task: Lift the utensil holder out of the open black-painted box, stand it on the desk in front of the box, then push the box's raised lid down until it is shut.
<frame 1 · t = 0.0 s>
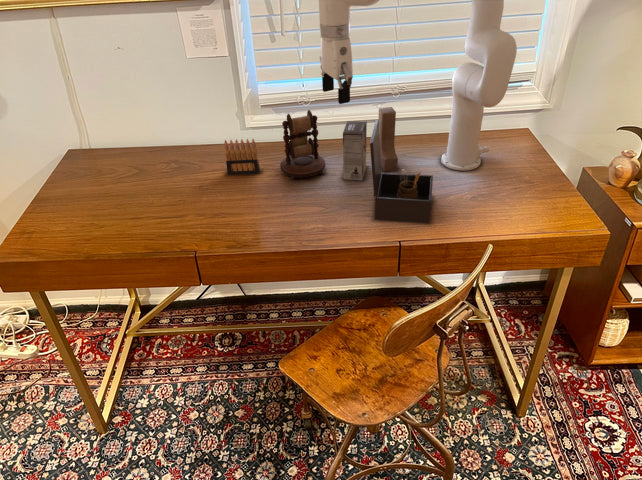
hand: (336, 96, 147), 31 cm above the table, tool pointing down, fingers open, 9 cm apart
wooden block: (387, 165, 181), on the table
coffee box: (354, 173, 178), on the table
black box: (403, 207, 160), on the table
lid: (376, 158, 152), point 16 cm above the table, hinge at 95.0°
utensil holder: (406, 206, 160), point 1 cm above the table, touching black box
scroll: (303, 170, 181), on the table
ammunition clip: (243, 173, 181), on the table
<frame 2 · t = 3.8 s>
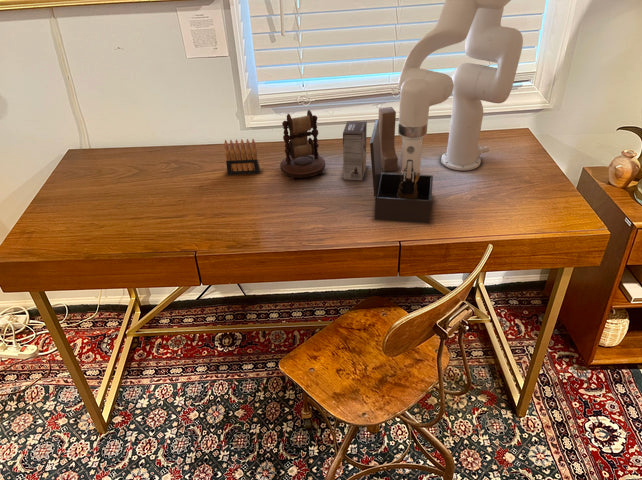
hand: (408, 187, 156), 7 cm above the table, tool pointing down, fingers closed on utensil holder, 5 cm apart
utensil holder: (406, 206, 160), point 1 cm above the table, touching black box, gripper
everything else where it was.
when the fingers open (6 cm above the table, at t = 11.2 s): utensil holder stays where it is, on the table.
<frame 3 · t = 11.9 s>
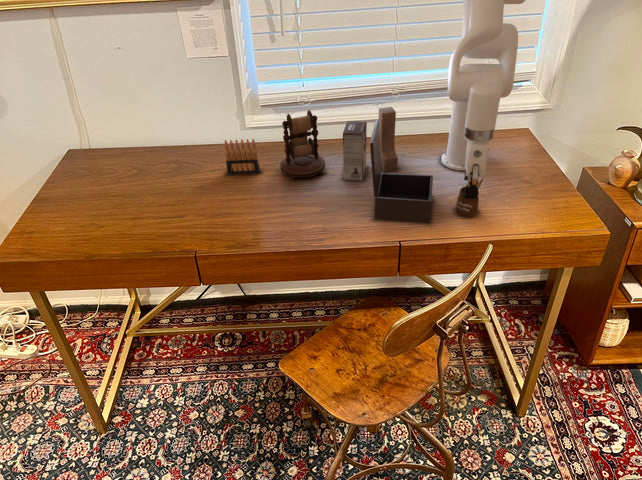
hand: (470, 188, 152), 8 cm above the table, tool pointing down, fingers open, 9 cm apart
utensil holder: (466, 212, 157), on the table
everything else where it was.
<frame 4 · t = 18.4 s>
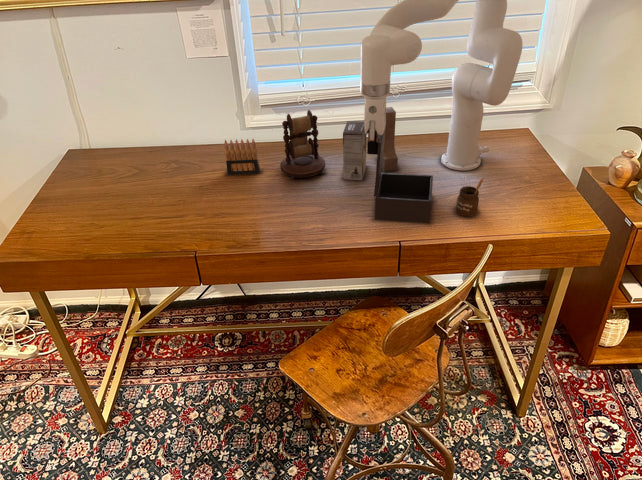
hand: (373, 152, 151), 17 cm above the table, tool pointing down, fingers closed
lid: (380, 158, 152), point 16 cm above the table, hinge at 87.1°, touching gripper
everything else where it was.
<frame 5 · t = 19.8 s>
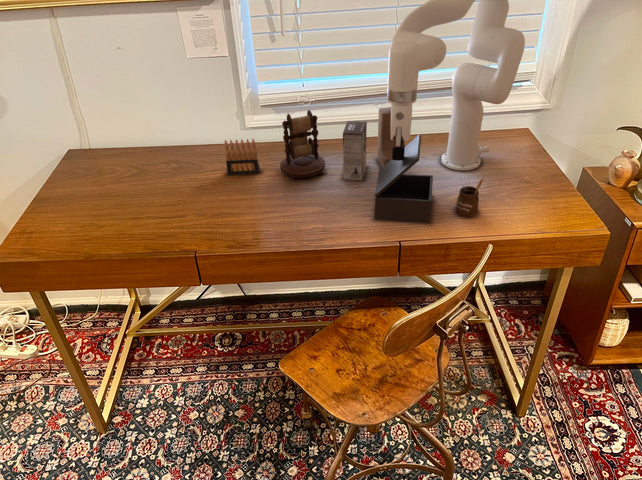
hand: (398, 158, 151), 16 cm above the table, tool pointing down, fingers closed
lid: (397, 165, 152), point 14 cm above the table, hinge at 48.0°, touching gripper
everything else where it was.
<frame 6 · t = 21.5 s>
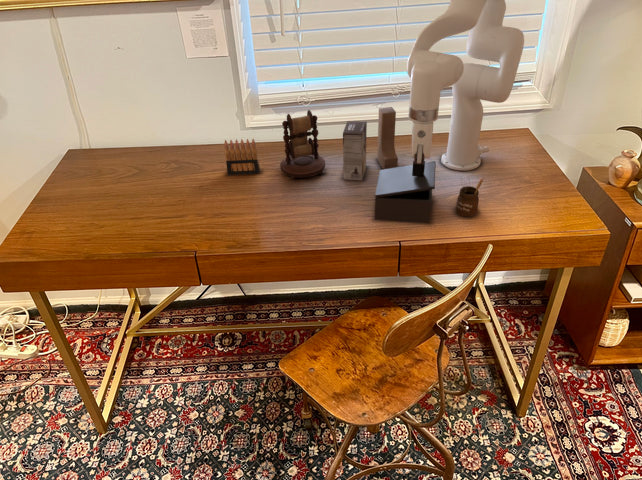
hand: (417, 175, 153), 11 cm above the table, tool pointing down, fingers closed
lid: (405, 179, 154), point 10 cm above the table, hinge at 13.8°, touching gripper
everything else where it was.
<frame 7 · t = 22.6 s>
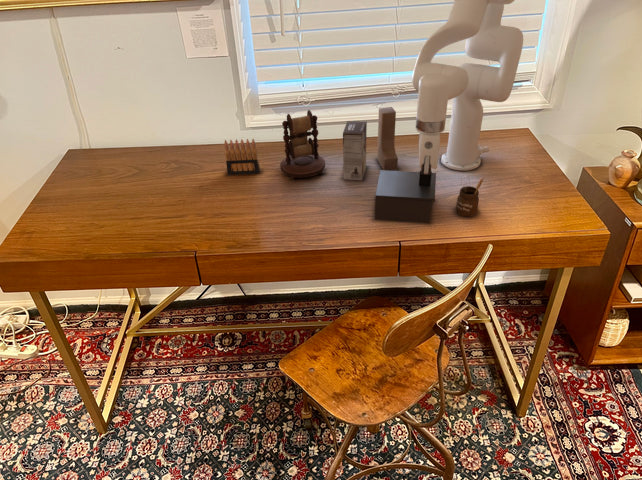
hand: (424, 184, 154), 8 cm above the table, tool pointing down, fingers closed
lid: (406, 185, 155), point 8 cm above the table, hinge at 0.2°, touching gripper
everything else where it was.
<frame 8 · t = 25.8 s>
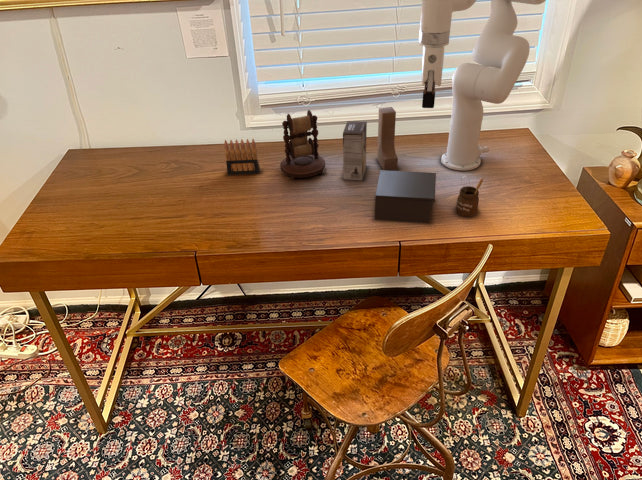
hand: (427, 106, 149), 27 cm above the table, tool pointing down, fingers closed
lid: (406, 185, 155), point 8 cm above the table, hinge at 0.2°
everything else where it was.
at the end: utensil holder inside the target area (0.2 cm from its centre), on the table; utensil holder tilted 0°; lid at +0° (first picture: +95°) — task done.
